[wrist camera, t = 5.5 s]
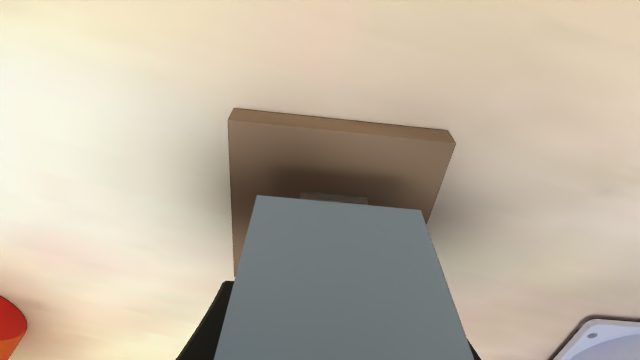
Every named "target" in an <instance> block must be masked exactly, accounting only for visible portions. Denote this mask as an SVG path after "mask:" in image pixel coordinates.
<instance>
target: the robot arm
mask: <svg viewBox="0 0 640 360" xmlns="http://www.w3.org/2000/svg"><path fill="white" fill-rule="evenodd" d="M233 285H234V281H225V282H223V283H222V285H221V287H220V289H219V291H218V293H217V295H216V297H215V299H214V301H213V303H212V304H211V306H210V308H209V309H208V311H207V313H206V314H205V316H204V318H203V319H202V321H201V323H200V324H199V326H198V327H197V329H196V330H195V332H194V333H193V335H192V336H191V338H190V339H189V341H188V342H187V344H186V345H185V347H184V348H183V350H182V351H181V353H180V354H179V356H178V357H177V358H176V360H214V357H215V353H216V350H217V346H218V342H219V338H220V334H221V330H222V327H223V323H224V319H225V315H226V311H227V308H228V304H229V300H230V296H231V292H232V288H233ZM467 341H468V339H467ZM468 344H469V346H470V349H471V352H472V355H473V358H474V360H481V358H480V357H479V356H478V354H477V353H476V351H475V350H474V348H473V347H472V345H471V344H470V342H469V341H468ZM553 360H640V322H630V321H617V320H604V319H592V320H589V321H587V322H586V323H585V324H584V325H583V326H582V327H581V328H580V330H579V331H578V332H577V333H576V334H575V335H574V336H573V338H572V339H571V340H570V341H569V342H568V343H567V344H566V345H565V347H564V348H563V349H562V350H561V351H560V352H559V353H558V354H557V356H556V357H555V358H554V359H553Z"/></svg>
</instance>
